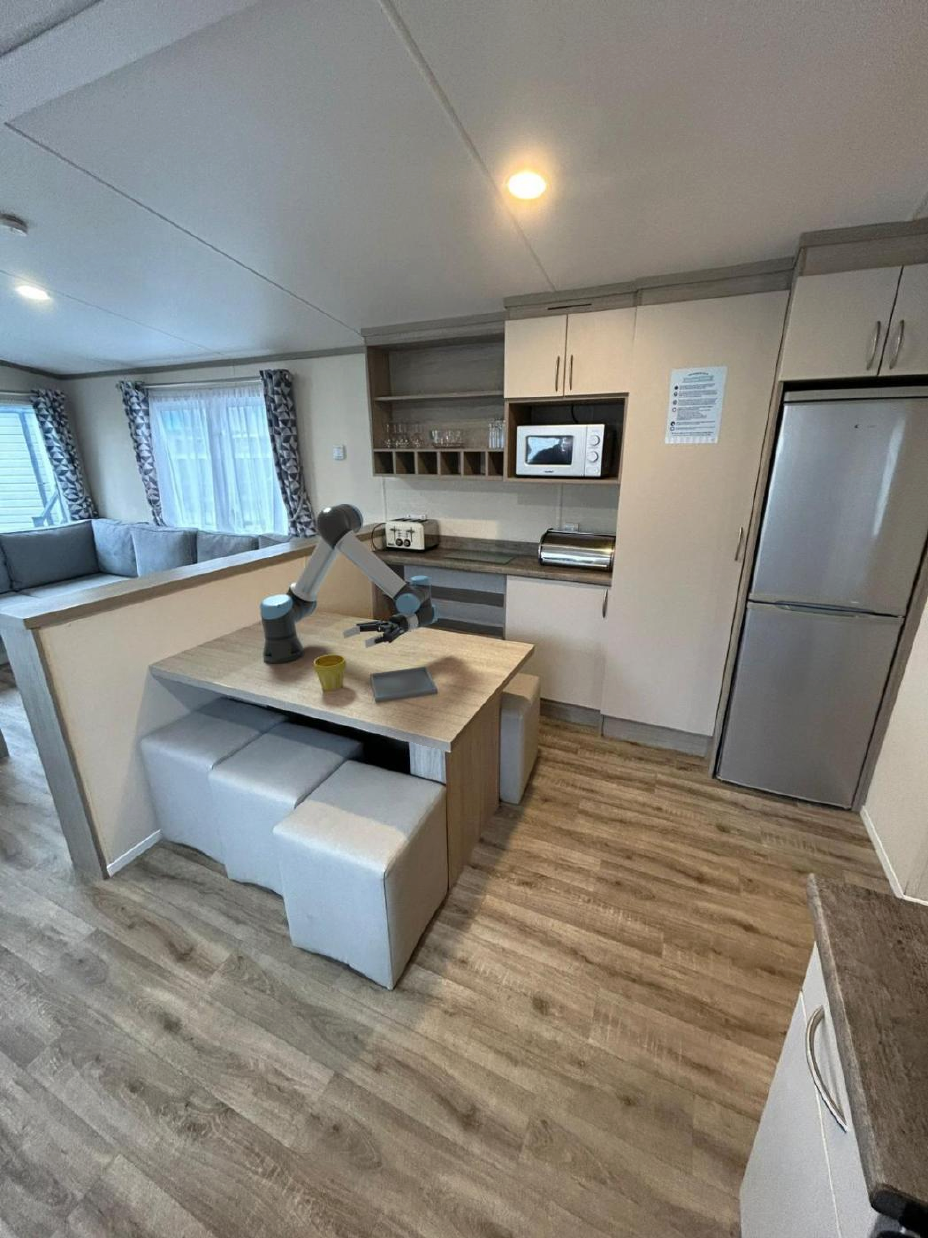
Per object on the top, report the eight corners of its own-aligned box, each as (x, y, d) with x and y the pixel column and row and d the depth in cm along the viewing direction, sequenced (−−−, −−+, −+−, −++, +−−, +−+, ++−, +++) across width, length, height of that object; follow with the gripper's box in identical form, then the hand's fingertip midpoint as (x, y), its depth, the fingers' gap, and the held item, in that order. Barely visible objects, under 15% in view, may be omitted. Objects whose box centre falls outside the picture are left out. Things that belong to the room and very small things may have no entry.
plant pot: (353, 681, 168) (351, 655, 164) (337, 695, 159) (333, 668, 155) (328, 677, 171) (325, 652, 168) (310, 691, 162) (306, 664, 159)
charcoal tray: (375, 702, 153) (375, 697, 153) (370, 678, 170) (370, 673, 169) (437, 693, 158) (436, 688, 158) (426, 671, 175) (426, 666, 174)
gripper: (425, 640, 173) (376, 658, 159) (383, 625, 190) (336, 640, 176) (424, 620, 171) (374, 637, 157) (382, 607, 188) (333, 621, 174)
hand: (354, 639), depth 166 cm, fingers open, 13 cm apart
